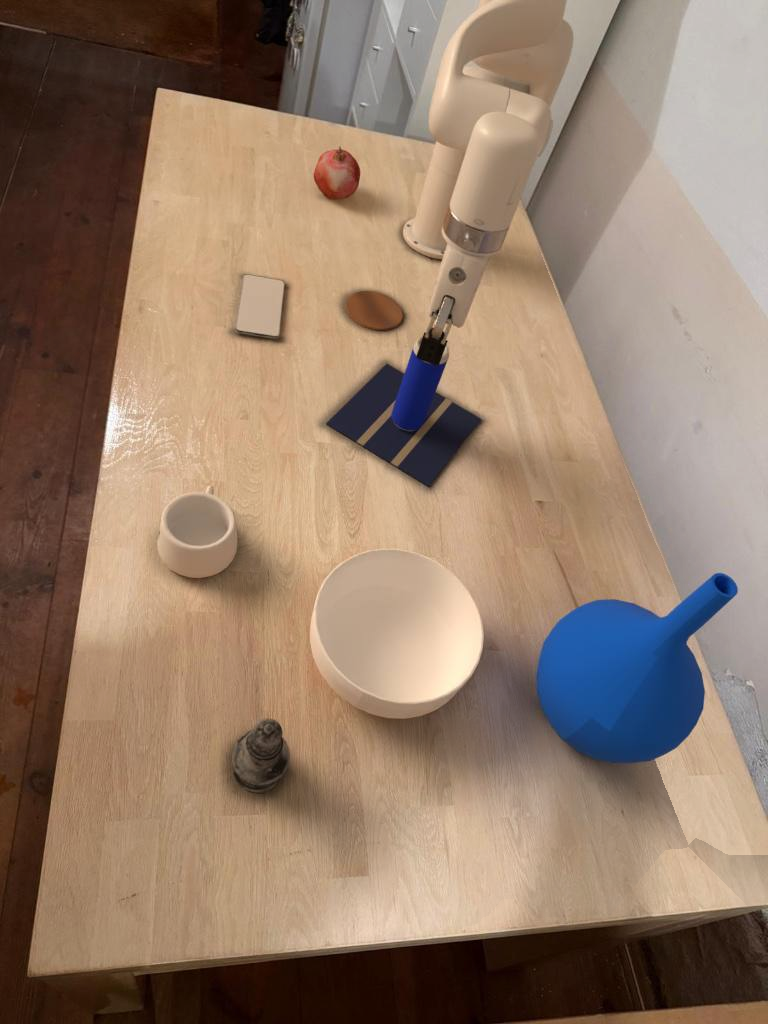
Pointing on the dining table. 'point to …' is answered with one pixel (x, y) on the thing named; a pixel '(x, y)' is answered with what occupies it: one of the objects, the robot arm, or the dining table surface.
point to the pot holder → (403, 449)
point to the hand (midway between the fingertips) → (435, 339)
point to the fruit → (337, 174)
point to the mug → (197, 534)
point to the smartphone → (260, 306)
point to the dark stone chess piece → (260, 757)
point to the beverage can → (417, 390)
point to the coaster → (374, 310)
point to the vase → (627, 675)
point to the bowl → (395, 633)
